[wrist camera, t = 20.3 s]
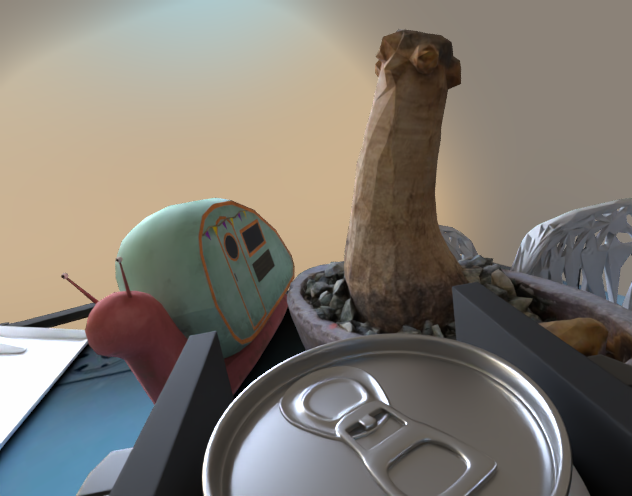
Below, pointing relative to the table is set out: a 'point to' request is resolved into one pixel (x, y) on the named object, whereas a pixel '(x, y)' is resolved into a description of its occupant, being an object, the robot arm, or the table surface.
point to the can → (391, 426)
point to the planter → (425, 231)
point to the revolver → (56, 318)
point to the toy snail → (193, 290)
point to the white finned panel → (31, 369)
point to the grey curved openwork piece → (570, 248)
